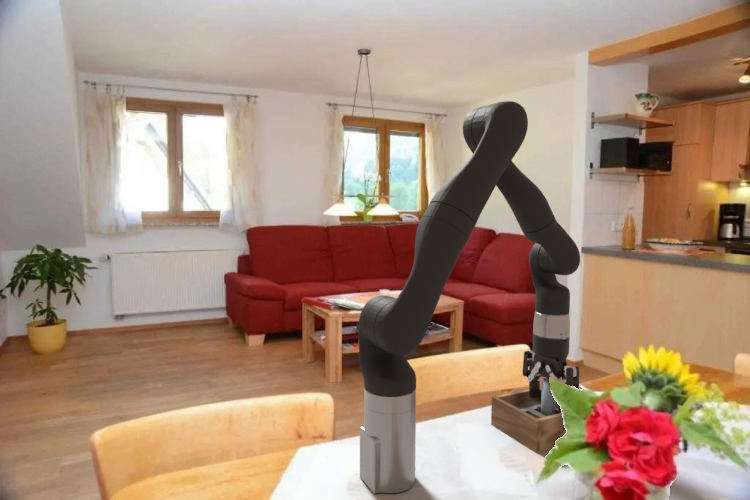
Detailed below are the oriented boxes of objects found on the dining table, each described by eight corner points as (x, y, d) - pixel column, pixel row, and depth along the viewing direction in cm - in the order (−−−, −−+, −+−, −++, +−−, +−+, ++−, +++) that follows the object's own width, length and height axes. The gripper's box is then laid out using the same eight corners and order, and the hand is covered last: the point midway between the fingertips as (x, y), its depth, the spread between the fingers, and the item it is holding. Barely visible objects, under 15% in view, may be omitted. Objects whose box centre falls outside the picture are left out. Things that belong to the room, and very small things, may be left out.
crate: (535, 452, 100) (537, 421, 100) (491, 424, 113) (491, 396, 112) (586, 438, 106) (587, 409, 106) (538, 413, 119) (539, 386, 118)
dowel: (547, 432, 109) (549, 383, 108) (537, 427, 112) (539, 379, 111) (557, 430, 110) (559, 381, 109) (547, 424, 113) (549, 377, 112)
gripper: (515, 326, 114) (513, 395, 115) (563, 342, 101) (560, 420, 102) (540, 323, 117) (537, 390, 118) (590, 338, 104) (586, 413, 106)
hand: (548, 404), depth 110 cm, fingers open, 8 cm apart
